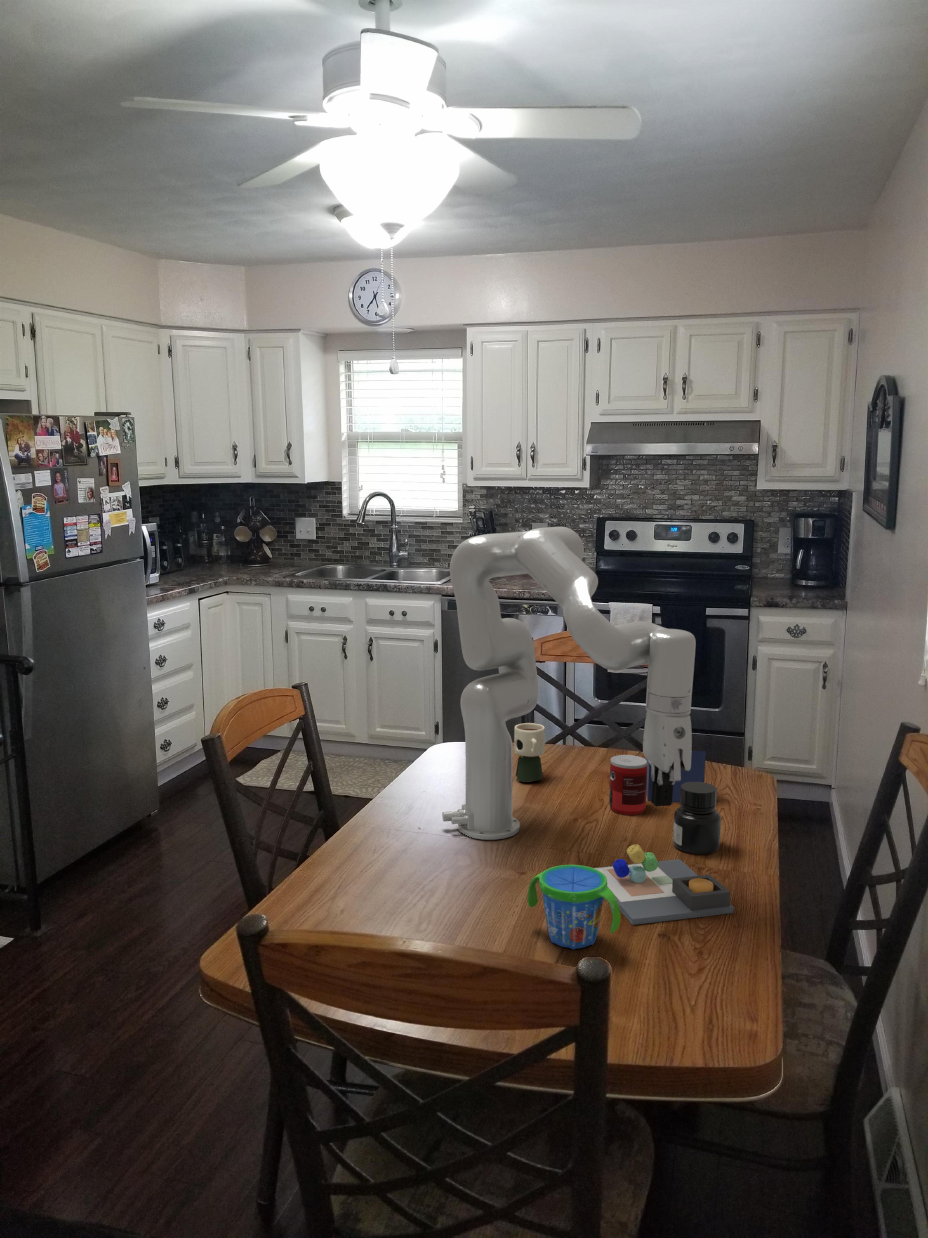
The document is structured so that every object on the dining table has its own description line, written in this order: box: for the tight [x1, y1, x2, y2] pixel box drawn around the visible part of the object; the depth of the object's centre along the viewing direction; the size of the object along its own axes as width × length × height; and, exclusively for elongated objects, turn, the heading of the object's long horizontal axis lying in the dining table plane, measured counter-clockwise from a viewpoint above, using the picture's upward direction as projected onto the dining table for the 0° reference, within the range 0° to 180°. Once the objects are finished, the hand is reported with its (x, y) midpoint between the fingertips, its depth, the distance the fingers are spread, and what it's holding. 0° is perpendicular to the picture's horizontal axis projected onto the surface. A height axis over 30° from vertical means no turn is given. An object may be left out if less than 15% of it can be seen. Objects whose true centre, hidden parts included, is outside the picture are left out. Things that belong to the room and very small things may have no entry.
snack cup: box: [526, 864, 622, 950], centre depth 148 cm, size 16×10×10 cm
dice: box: [612, 843, 659, 883], centre depth 166 cm, size 8×3×6 cm, turn 98°
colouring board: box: [593, 858, 735, 926], centre depth 165 cm, size 18×20×4 cm
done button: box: [689, 878, 713, 893], centre depth 160 cm, size 4×4×2 cm
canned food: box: [608, 754, 647, 816], centre depth 204 cm, size 8×8×11 cm
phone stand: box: [644, 750, 707, 804], centre depth 214 cm, size 12×12×12 cm
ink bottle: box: [672, 781, 722, 855], centre depth 184 cm, size 10×9×12 cm
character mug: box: [513, 722, 546, 783], centre depth 222 cm, size 11×7×13 cm, turn 10°
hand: (661, 804), depth 165 cm, fingers closed
